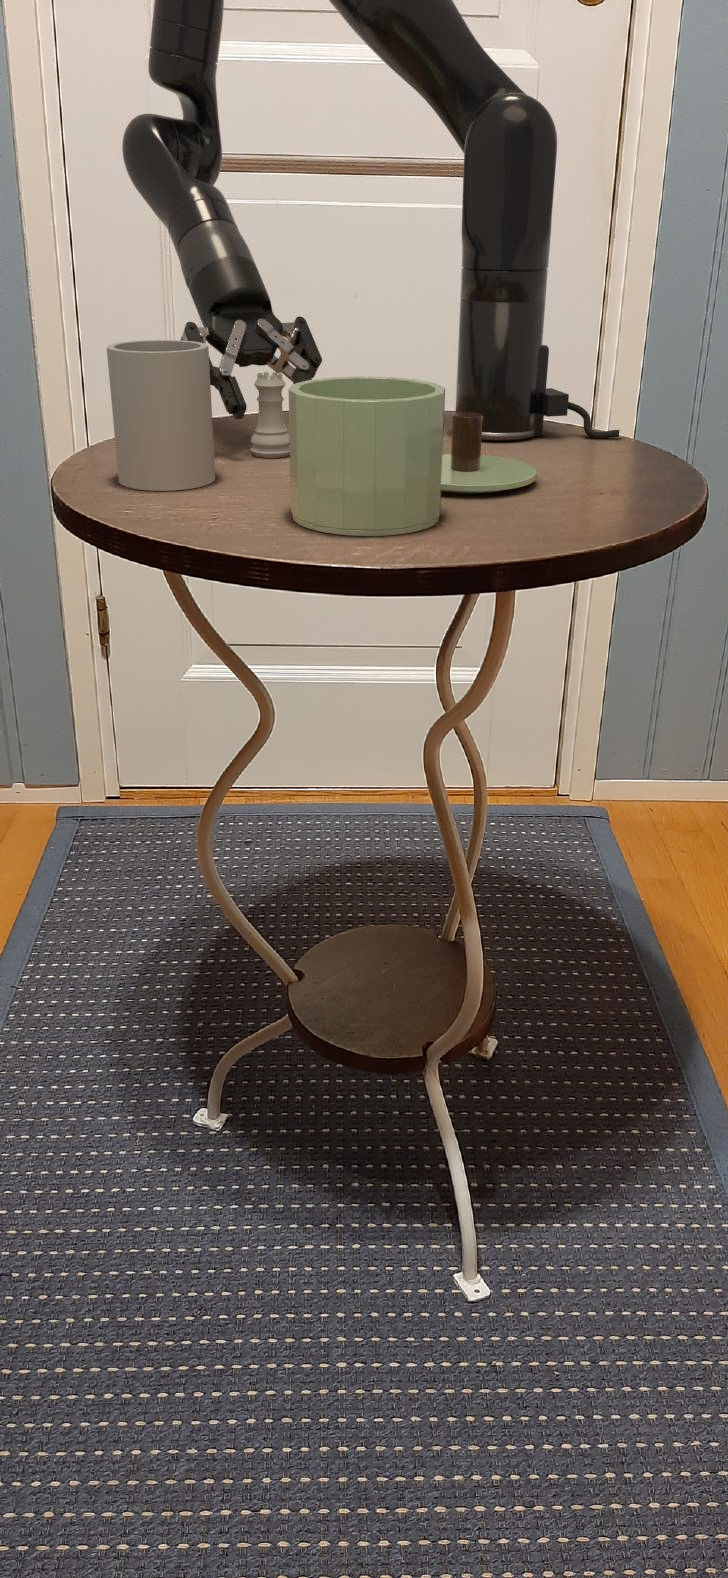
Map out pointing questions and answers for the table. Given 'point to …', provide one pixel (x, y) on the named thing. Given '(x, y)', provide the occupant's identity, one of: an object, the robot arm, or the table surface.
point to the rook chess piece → (270, 418)
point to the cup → (162, 414)
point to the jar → (366, 454)
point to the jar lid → (479, 462)
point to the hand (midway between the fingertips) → (276, 411)
